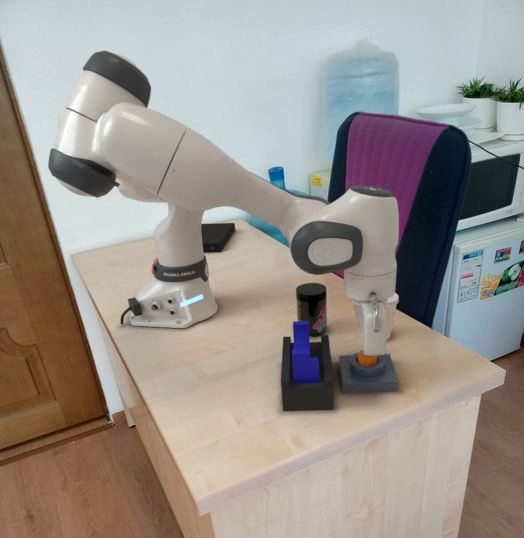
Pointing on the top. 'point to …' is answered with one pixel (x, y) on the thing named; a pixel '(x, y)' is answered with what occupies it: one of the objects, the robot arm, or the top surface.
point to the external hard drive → (216, 236)
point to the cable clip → (303, 355)
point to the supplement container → (312, 307)
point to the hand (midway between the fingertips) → (367, 351)
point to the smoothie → (390, 312)
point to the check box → (367, 375)
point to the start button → (366, 359)
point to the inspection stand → (307, 393)
